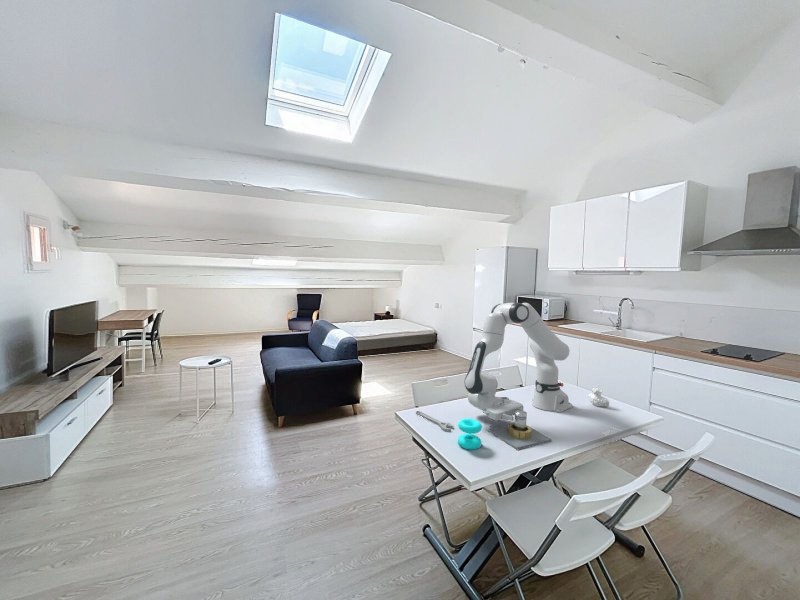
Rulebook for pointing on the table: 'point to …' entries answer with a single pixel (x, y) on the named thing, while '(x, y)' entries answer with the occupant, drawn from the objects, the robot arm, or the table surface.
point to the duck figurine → (598, 398)
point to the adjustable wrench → (437, 422)
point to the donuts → (469, 439)
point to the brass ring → (519, 432)
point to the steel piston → (520, 420)
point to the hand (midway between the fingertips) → (519, 416)
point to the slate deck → (519, 443)
